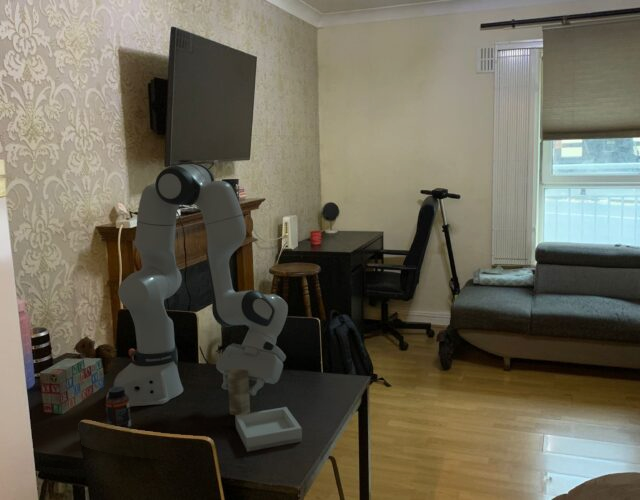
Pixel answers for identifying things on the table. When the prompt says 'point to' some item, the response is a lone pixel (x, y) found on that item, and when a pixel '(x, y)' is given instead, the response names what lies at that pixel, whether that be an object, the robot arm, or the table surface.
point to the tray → (268, 428)
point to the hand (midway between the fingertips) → (237, 391)
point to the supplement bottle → (118, 408)
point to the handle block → (238, 392)
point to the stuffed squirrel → (95, 352)
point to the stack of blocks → (70, 383)
